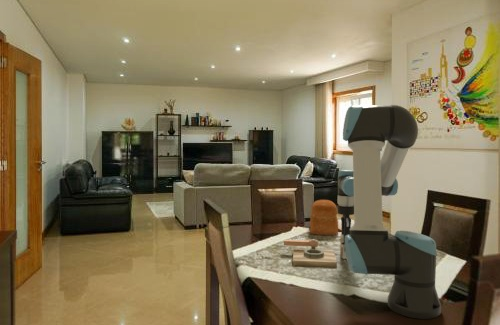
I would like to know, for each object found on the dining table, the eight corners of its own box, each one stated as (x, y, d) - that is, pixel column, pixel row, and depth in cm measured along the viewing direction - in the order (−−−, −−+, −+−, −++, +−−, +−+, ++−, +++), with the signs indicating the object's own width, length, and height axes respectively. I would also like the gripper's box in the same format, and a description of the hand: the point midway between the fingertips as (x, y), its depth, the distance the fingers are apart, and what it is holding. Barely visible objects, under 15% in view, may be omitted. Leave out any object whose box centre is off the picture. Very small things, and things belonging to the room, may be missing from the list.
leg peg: (350, 259, 167) (351, 236, 166) (340, 258, 168) (341, 236, 167) (349, 256, 171) (350, 234, 171) (339, 255, 172) (340, 233, 171)
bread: (336, 226, 233) (336, 198, 232) (338, 236, 208) (339, 205, 207) (310, 224, 236) (310, 197, 235) (309, 235, 210) (310, 204, 209)
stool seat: (336, 267, 156) (336, 258, 156) (292, 265, 159) (292, 256, 158) (333, 254, 174) (333, 246, 174) (293, 252, 176) (293, 244, 176)
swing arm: (317, 244, 176) (317, 238, 176) (318, 247, 172) (318, 241, 172) (283, 243, 177) (283, 237, 177) (283, 245, 173) (283, 240, 173)
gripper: (357, 208, 159) (356, 263, 160) (352, 202, 176) (351, 251, 178) (339, 208, 160) (338, 262, 161) (335, 201, 177) (334, 250, 179)
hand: (345, 256), depth 169 cm, fingers closed on leg peg, 4 cm apart
